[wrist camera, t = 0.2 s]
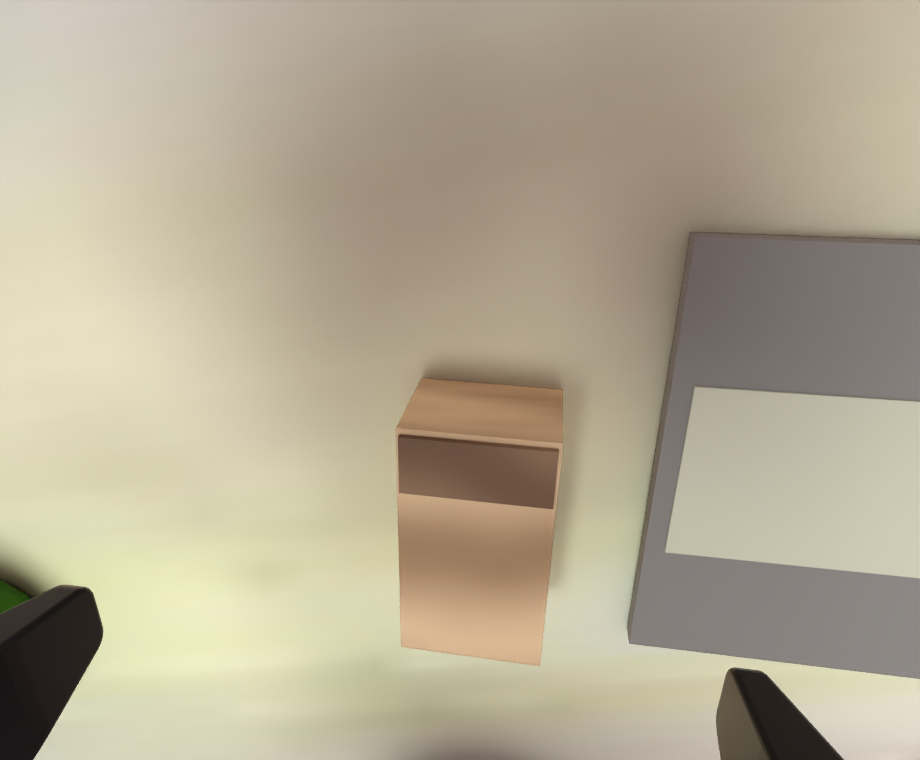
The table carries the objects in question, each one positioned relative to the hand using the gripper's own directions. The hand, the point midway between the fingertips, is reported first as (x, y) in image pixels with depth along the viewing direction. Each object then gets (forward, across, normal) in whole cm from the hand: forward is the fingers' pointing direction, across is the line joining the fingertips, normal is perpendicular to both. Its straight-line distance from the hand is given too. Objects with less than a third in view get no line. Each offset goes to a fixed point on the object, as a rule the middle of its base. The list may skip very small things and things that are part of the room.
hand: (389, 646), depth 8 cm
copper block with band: (+14, 0, +6) cm, 15 cm away
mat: (+14, -12, +4) cm, 19 cm away
